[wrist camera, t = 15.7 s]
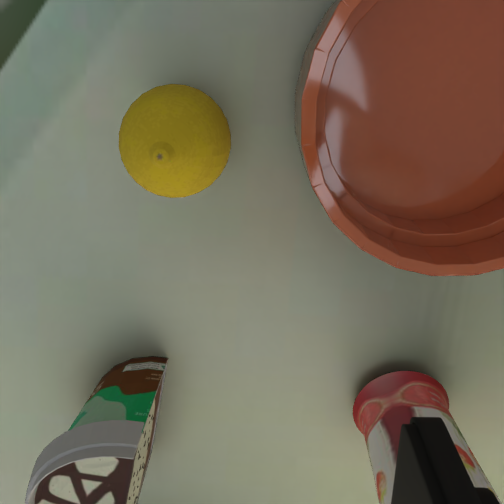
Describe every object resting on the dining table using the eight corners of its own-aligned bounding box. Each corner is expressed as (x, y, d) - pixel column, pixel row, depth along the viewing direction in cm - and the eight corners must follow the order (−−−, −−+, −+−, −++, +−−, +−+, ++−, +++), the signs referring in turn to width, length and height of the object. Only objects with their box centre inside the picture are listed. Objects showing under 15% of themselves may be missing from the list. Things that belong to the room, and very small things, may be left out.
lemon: (170, 60, 26) (132, 61, 18) (253, 116, 27) (248, 138, 19) (126, 144, 28) (75, 175, 20) (205, 193, 29) (184, 239, 21)
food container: (86, 324, 33) (15, 429, 23) (171, 341, 33) (134, 450, 24) (75, 450, 37) (13, 578, 28) (149, 464, 38) (112, 595, 29)
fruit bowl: (625, -72, 23) (728, -109, 18) (551, 236, 29) (611, 273, 24) (294, -57, 23) (303, -89, 18) (293, 241, 30) (299, 279, 25)
